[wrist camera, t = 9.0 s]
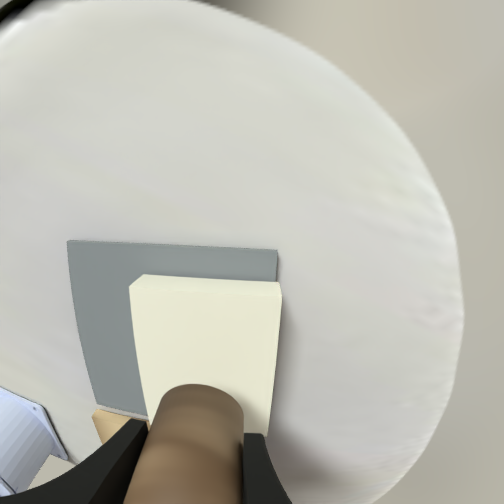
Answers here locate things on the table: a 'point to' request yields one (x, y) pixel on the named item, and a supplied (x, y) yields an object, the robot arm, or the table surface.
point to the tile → (208, 339)
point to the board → (110, 423)
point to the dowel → (191, 450)
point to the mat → (119, 309)
